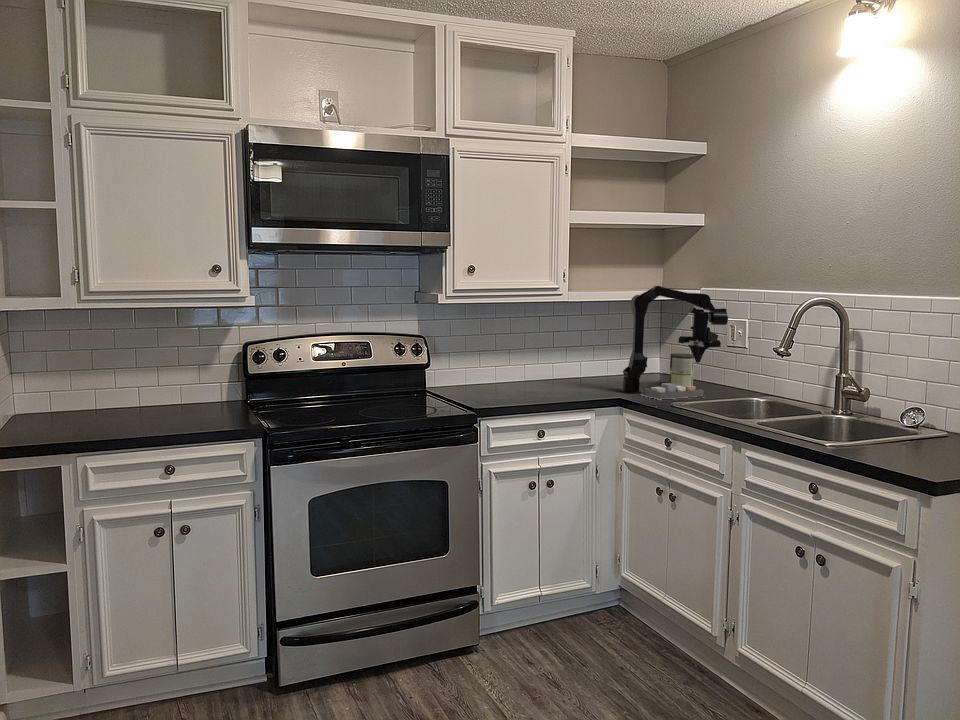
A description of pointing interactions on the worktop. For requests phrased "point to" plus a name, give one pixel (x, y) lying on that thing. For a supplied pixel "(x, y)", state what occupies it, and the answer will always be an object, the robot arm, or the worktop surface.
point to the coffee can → (681, 369)
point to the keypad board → (671, 394)
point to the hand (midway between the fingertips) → (697, 362)
